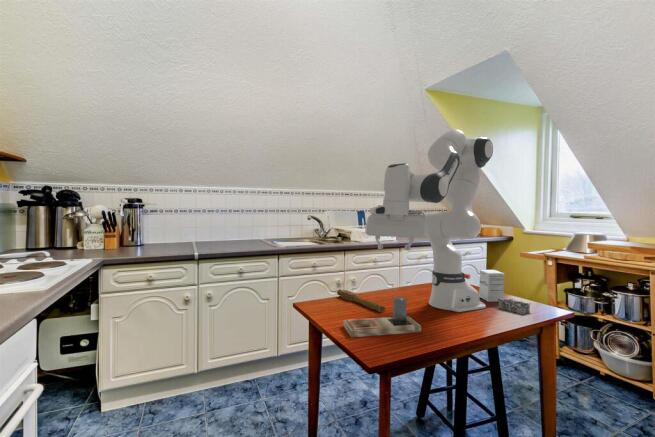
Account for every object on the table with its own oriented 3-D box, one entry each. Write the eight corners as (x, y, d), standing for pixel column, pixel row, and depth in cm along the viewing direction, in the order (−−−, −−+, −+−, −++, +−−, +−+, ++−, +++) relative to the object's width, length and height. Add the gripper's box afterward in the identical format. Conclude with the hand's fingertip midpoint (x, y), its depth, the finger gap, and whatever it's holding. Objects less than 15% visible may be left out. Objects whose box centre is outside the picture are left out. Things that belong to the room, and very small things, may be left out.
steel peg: (402, 324, 119) (403, 296, 118) (408, 329, 115) (408, 300, 114) (391, 325, 118) (391, 297, 118) (395, 330, 114) (396, 301, 113)
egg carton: (495, 308, 139) (496, 298, 139) (506, 305, 143) (507, 295, 143) (521, 315, 130) (522, 305, 130) (532, 312, 134) (533, 302, 134)
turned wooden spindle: (379, 306, 131) (335, 289, 156) (379, 314, 131) (335, 295, 156) (385, 305, 133) (341, 288, 158) (385, 312, 133) (341, 294, 158)
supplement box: (478, 297, 154) (479, 269, 153) (494, 296, 154) (495, 269, 154) (487, 302, 146) (488, 273, 146) (503, 301, 147) (504, 272, 146)
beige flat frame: (408, 321, 122) (408, 315, 122) (421, 331, 113) (421, 325, 112) (343, 325, 118) (343, 319, 118) (351, 337, 108) (351, 330, 108)
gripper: (423, 211, 121) (421, 249, 121) (365, 208, 120) (364, 247, 121) (428, 211, 114) (426, 252, 115) (367, 208, 114) (366, 249, 115)
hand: (393, 249), depth 118 cm, fingers open, 8 cm apart
